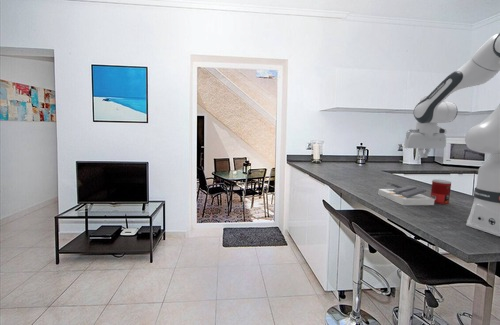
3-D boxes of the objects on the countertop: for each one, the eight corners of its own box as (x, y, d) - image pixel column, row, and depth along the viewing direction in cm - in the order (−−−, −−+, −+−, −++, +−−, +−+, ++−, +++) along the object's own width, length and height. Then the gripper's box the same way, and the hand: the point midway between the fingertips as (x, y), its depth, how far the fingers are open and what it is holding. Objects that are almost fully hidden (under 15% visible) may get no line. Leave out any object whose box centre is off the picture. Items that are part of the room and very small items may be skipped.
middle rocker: (416, 189, 147) (416, 186, 147) (398, 193, 147) (398, 191, 146) (411, 187, 152) (410, 185, 152) (393, 191, 151) (393, 189, 151)
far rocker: (407, 191, 155) (408, 189, 155) (391, 185, 153) (392, 183, 153) (402, 189, 159) (402, 187, 159) (386, 183, 158) (387, 181, 157)
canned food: (448, 205, 140) (451, 183, 139) (429, 202, 145) (431, 180, 144) (449, 202, 146) (451, 180, 145) (430, 199, 151) (433, 178, 150)
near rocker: (426, 191, 140) (425, 189, 140) (407, 197, 140) (407, 195, 140) (420, 189, 145) (419, 187, 145) (401, 195, 144) (401, 193, 144)
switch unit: (433, 205, 140) (434, 198, 139) (403, 205, 138) (403, 198, 138) (404, 194, 162) (405, 188, 161) (378, 194, 160) (378, 188, 159)
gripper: (411, 129, 138) (408, 158, 140) (449, 130, 141) (446, 158, 142) (402, 129, 144) (400, 156, 146) (439, 130, 147) (436, 156, 149)
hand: (423, 157), depth 144 cm, fingers closed
